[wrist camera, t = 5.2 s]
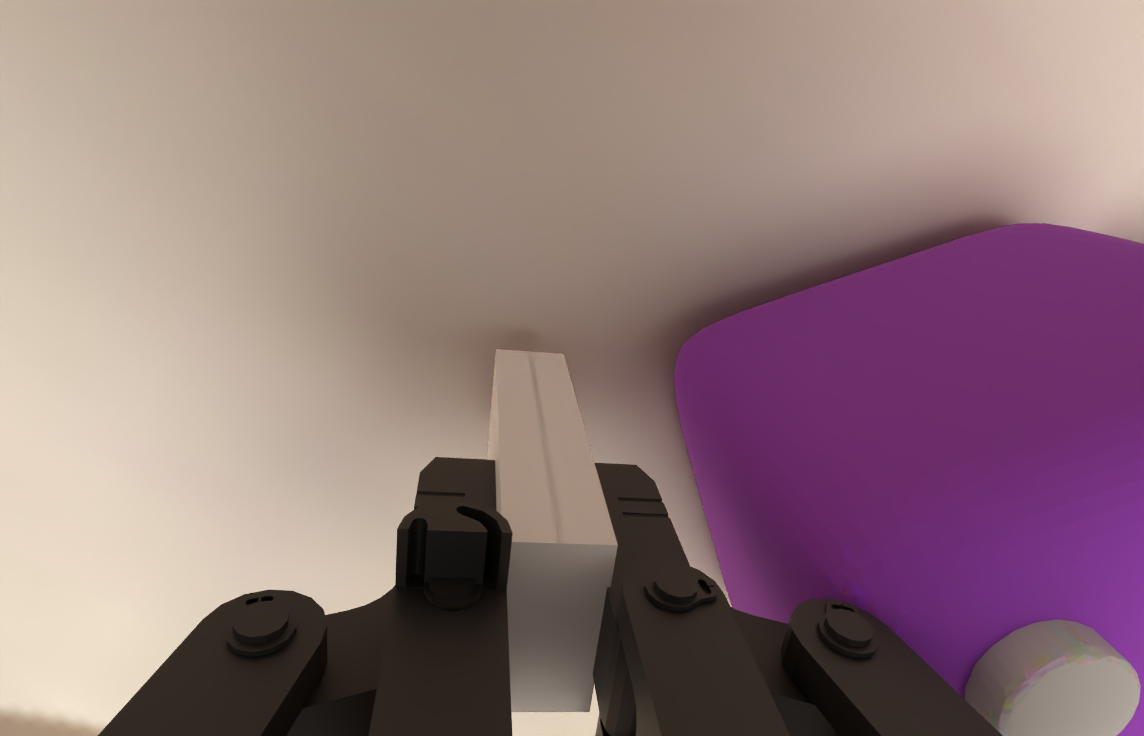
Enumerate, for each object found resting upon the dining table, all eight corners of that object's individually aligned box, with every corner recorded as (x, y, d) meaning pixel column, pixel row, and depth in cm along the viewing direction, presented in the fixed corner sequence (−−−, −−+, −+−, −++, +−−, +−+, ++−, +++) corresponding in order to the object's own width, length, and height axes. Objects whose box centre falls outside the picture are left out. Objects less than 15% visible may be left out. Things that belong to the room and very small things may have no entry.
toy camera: (1206, 437, 19) (1853, 760, 10) (760, 655, 21) (980, 1118, 11) (1142, 60, 15) (2138, 34, 6) (590, 362, 16) (720, 720, 7)
